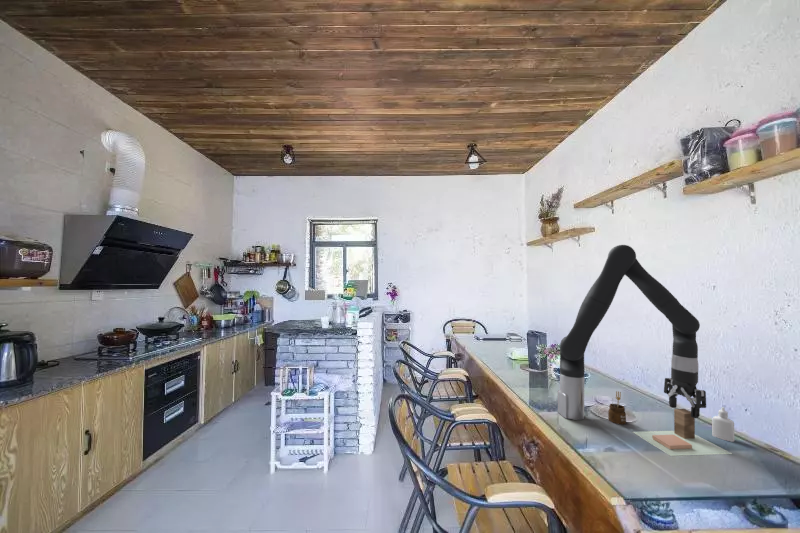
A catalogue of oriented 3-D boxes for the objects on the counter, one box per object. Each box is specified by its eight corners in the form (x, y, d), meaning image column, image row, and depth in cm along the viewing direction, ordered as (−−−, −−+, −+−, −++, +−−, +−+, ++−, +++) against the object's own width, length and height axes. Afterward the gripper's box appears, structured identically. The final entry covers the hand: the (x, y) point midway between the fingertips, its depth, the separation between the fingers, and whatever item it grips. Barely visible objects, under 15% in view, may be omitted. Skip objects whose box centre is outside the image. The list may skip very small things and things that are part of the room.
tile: (692, 449, 111) (669, 449, 111) (673, 438, 118) (652, 439, 118) (692, 444, 111) (669, 445, 111) (673, 434, 118) (652, 435, 118)
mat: (670, 459, 107) (670, 455, 107) (632, 434, 123) (632, 431, 123) (732, 456, 109) (732, 453, 109) (687, 432, 124) (687, 430, 124)
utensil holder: (606, 423, 132) (606, 393, 132) (610, 418, 136) (610, 389, 136) (624, 428, 128) (624, 397, 128) (627, 423, 132) (627, 393, 132)
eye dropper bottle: (720, 436, 122) (720, 404, 122) (737, 444, 116) (737, 410, 117) (709, 436, 122) (709, 404, 122) (725, 444, 116) (725, 410, 116)
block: (684, 438, 118) (684, 413, 118) (674, 433, 122) (674, 409, 122) (694, 438, 118) (694, 413, 118) (684, 433, 122) (684, 408, 122)
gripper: (658, 362, 127) (657, 404, 127) (693, 374, 113) (692, 421, 113) (676, 362, 128) (675, 404, 128) (713, 374, 114) (712, 421, 113)
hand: (683, 412), depth 120 cm, fingers open, 8 cm apart
